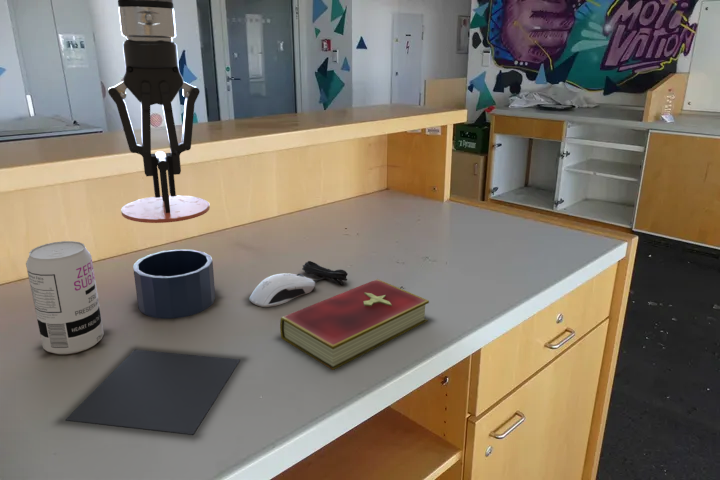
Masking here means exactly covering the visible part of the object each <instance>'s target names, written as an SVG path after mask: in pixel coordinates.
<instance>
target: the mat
mask: <svg viewBox="0 0 720 480" xmlns="http://www.w3.org/2000/svg"><path fill="white" fill-rule="evenodd" d="M240 362H241V359H239V358H229V357H228V358H227V357H218V356H207V355H198V354H197V355H196V354H187V353H176V352H166V351H155V350H144V349H133V351H132V352H131V353H130V354H129V355H127V356H126V357H125V359H124V360H123V361H122V362H121V363H120V364H118V366H117V367H116V368H115V369H114V370H113V371H112V372H111V373H110V374H109V375H108V376H107V377H105V379H104V380H103V381H102V382H101V383H100V384H99V385H98V386H97V387H96V388H95V389H94V390H93V391H92V392H91V393H90V394H89V395H88V396H87V397H86V398H85V399H84V401H82V402H81V403H80V404H79V405H78V406H77V407H76V408H75V409H74V410H73V412H71V414H69V416H67V417H66V418H65V422H74V423H84V424H92V425H100V426H101V425H102V426H109V427H117V428H126V429H133V430H135V429H136V430H143V431H153V432H159V433H160V432H161V433H169V434H179V435H187V436H194V435H195V434H196V432H197V430H198V429H199V427H200V425H202V423H203V421H204V419H205V418H206V416H207V415H208V413H209V411H210V410H211V408H212V407H213V405H214V403H215V402H216V400H217V398H218V397H219V396H220V393H221V392H222V390H223V389H224V388H225V386H226V384H227V383H228V381H229V380H230V378H231V376H232V374H233V373H234V372H235V370H236V369H237V367H238V365H239V363H240Z"/></svg>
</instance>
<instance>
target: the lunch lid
mask: <svg viewBox="0 0 720 480" xmlns="http://www.w3.org/2000/svg"><path fill="white" fill-rule="evenodd" d="M155 154H156V159H157V169H158V172H159V179H160V189H161V190H160V191H161V195H160V197H159V198H155V196H150V197H144V198H139V199H136V200H132V201H129V202H128V203H126V204H124V205H123V206H122V207H121V209H120V213H121V216H122V217H123V218H124V219H126V220H129V221H133V222H137V223H144V224H145V223H147V224H165V223H176V222H182V221H187V220H192V219H195V218H198V217H200V216H204V215H205V214H207V213H208V212H209V210H210V208H211V207H210V202H209V201H208V200H206V199H204V198H201V197H198V196H192V195H184V194H183V195H181V194H179V195H178V194H176V196H172V197H171V195H170V193H169V183H168V169H169V164H168V161H167V158H166V153H165V152H164V151H162V150H158V151H156V152H155Z"/></svg>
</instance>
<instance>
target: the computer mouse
mask: <svg viewBox="0 0 720 480" xmlns="http://www.w3.org/2000/svg"><path fill="white" fill-rule="evenodd" d="M301 270H302V271H304V272H305V273H306V274H307V275H316V276H318V277H321V278H318V279H315V280H314V279H312V278H309V277H308V276H304V274H303V273H297V274H295V273H288V272H287V273H286V272H285V273H276V274H273V275H270V276H267V277H265V278H264V279H262V280H261V281H260V282H259V284H258V285H256V287H255V288H254V289H253V291H252V293H251V294H250V296H249V301H250V302H251V303H252V304H253V305H255V306H258V307H260V308H261V307H262V308H272V307H276V306H280V305H283V304H286V303H289V302H290V301H291V300H294V299H295V298H296V299H297V298H298V297H301V296H303V295H306V294H310V293H311V292H312V291H313V290H314V288H315V287H316V283H317V282H319V281H322V280H325V279H329V280H332V279H333V280H334V281H336V282H337V283H338V284H340V285H341V286H344V282H347V281H348V278H347V276H348V272H347V270H344V269H335V270H333V269H330V268H326V267H324V266H321V265H319V264H318V263H316V262H314V261H311V260H307V261H306V262H305V263H304V264H302V268H301ZM343 281H344V282H343Z"/></svg>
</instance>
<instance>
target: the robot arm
mask: <svg viewBox="0 0 720 480" xmlns="http://www.w3.org/2000/svg"><path fill="white" fill-rule="evenodd" d="M117 6H118V16H119V24H120V31H121V33H120V34H121V36H122V37H125V38H126V39H125V40H124V41H123V42H122V52H123V59H124V68H125V73H124V75H123V78H122V80H123V81H121V82H119V83H117V84H116V85H114V86H109V88H108V91H107V93H108V95H109V96H110V98H111V99H112V101H113V102H114V103H115V105H116V108H117V111H118V112H117V113H118V115H119V119H120V121H121V125H122V129H123V133H124V136H125V138H126V142H127V145H128V146H127V147H128V149H129V152H131V153H132V154H137V155H140V156H142V161H143V170H144V175H145V176H146V177H152V182H153V192H154V197H155V198H159V197H160V196H161V190H160V189H161V187H160V181H159V179H160V178H159V169H158V166H157V159H156V153H152V139H151V137H152V135H151V134H152V133H151V132H152V131H151V129H152V128H151V106H153V105H159V106H161V107H162V112H163V116H164V117H163V118H164V123H165V128H166V133H167V139H168V145H169V150H170V152H166V153H165V155H166V158H167V161H168V164H169V169H168V170H167V181H168V191H169V195H171V197H172V196H176V195H177V192H176V182H175V181H176V180H175V175H181V172H182V167H181V154H182V153H184V152H186V151H190V150H191V148H192V139H193V128H194V126H193V125H194V115H195V104H196V102H197V100H198V98H199V96H200V89H199V88H198V87H197V86H196V85H191V84H190V83H187V82H185V81H184V77H183V75H182V74H181V72H180V66H179V54H178V53H179V52H178V44H176V42H175V41H173V39H175V38H176V37H177V30H176V29H177V28H176V18H175V9H174V8H175V7H174V0H117ZM127 89H128V91H129V92H130V93H131V94H132V95H133V96H134V97H135V99H136V100H137V101H138V102H139V103H140V113H141V114H140V116H141V122H140V123H141V144H139V143H137V139H136V135H135V132H134V129H133V128H134V127H133V125H132V124H133V123H132V121H131V118H130V114H129V111H128V107H127V103H126V101H125V99H126V98H127V92H126V90H127ZM181 89H182V96H183V97H184V98H185V99H184V106H183V107H184V109H183V121H182V131H181V132H182V133H181V142H179V140H178V135H177V130H176V124H175V119H174V113H173V105H172V102H173V101H174V100H175V98H176V96H177V95H178V93H179V92H180V90H181Z"/></svg>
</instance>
